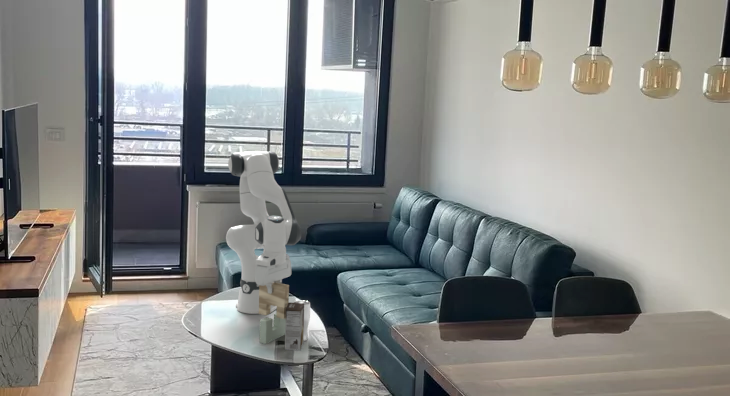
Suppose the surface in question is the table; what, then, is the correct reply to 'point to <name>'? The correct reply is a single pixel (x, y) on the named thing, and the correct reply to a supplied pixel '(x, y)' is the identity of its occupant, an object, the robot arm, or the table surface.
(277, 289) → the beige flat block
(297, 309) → the coffee box
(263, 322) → the sage stand plate
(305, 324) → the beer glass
